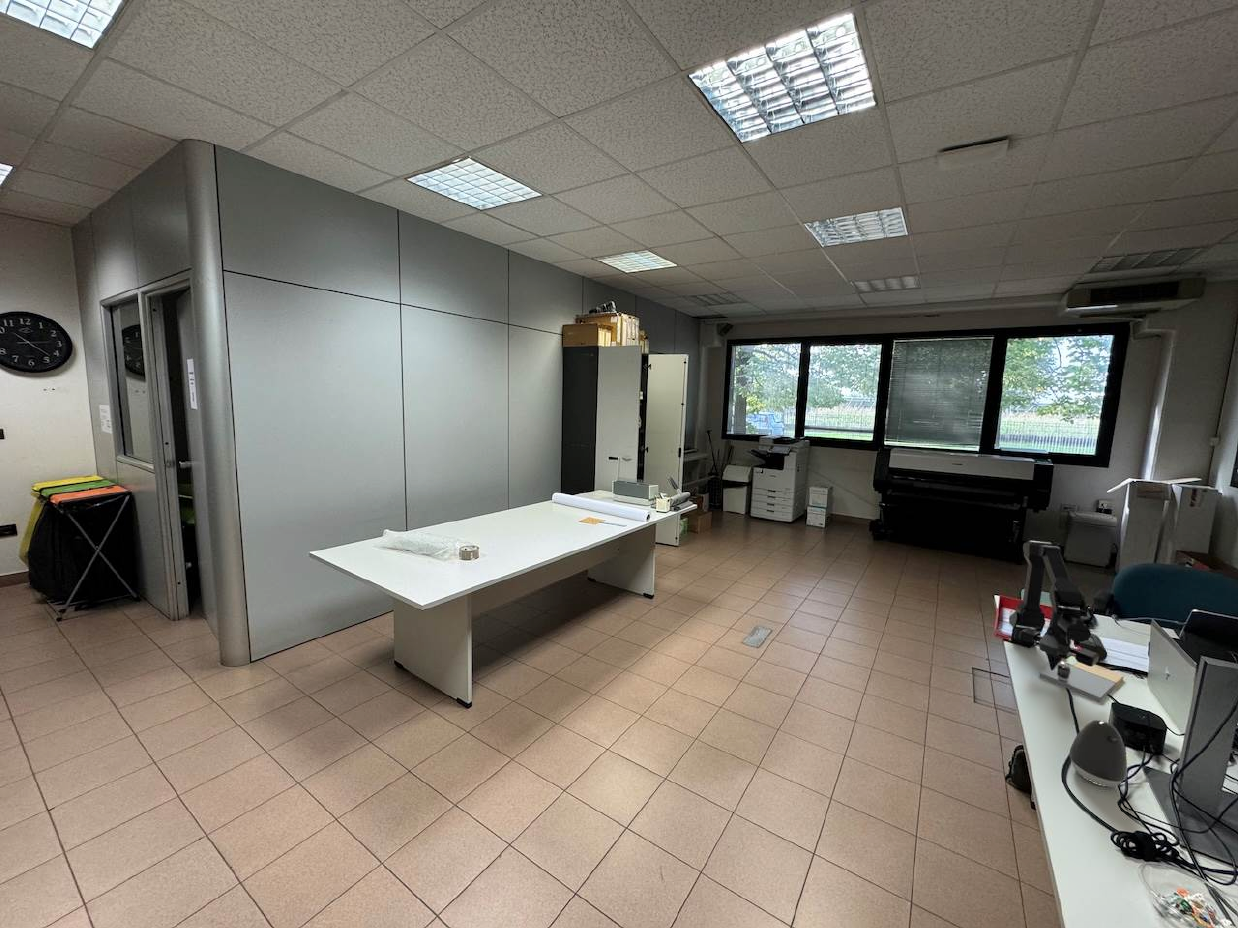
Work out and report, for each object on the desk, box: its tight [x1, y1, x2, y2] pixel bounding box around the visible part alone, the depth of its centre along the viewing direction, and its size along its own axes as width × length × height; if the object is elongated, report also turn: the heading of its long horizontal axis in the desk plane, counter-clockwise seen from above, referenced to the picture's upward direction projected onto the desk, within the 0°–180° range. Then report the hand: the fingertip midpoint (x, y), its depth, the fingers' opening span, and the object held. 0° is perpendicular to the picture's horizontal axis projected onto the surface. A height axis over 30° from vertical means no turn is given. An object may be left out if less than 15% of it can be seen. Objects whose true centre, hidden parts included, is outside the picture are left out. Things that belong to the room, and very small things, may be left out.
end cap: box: [1073, 632, 1108, 663], centre depth 175 cm, size 10×7×7 cm
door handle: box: [1057, 661, 1070, 681], centre depth 162 cm, size 12×3×4 cm, turn 137°
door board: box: [1038, 655, 1125, 703], centre depth 162 cm, size 15×22×4 cm
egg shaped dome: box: [1069, 720, 1128, 788], centre depth 121 cm, size 10×10×15 cm
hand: (1052, 669), depth 161 cm, fingers closed
